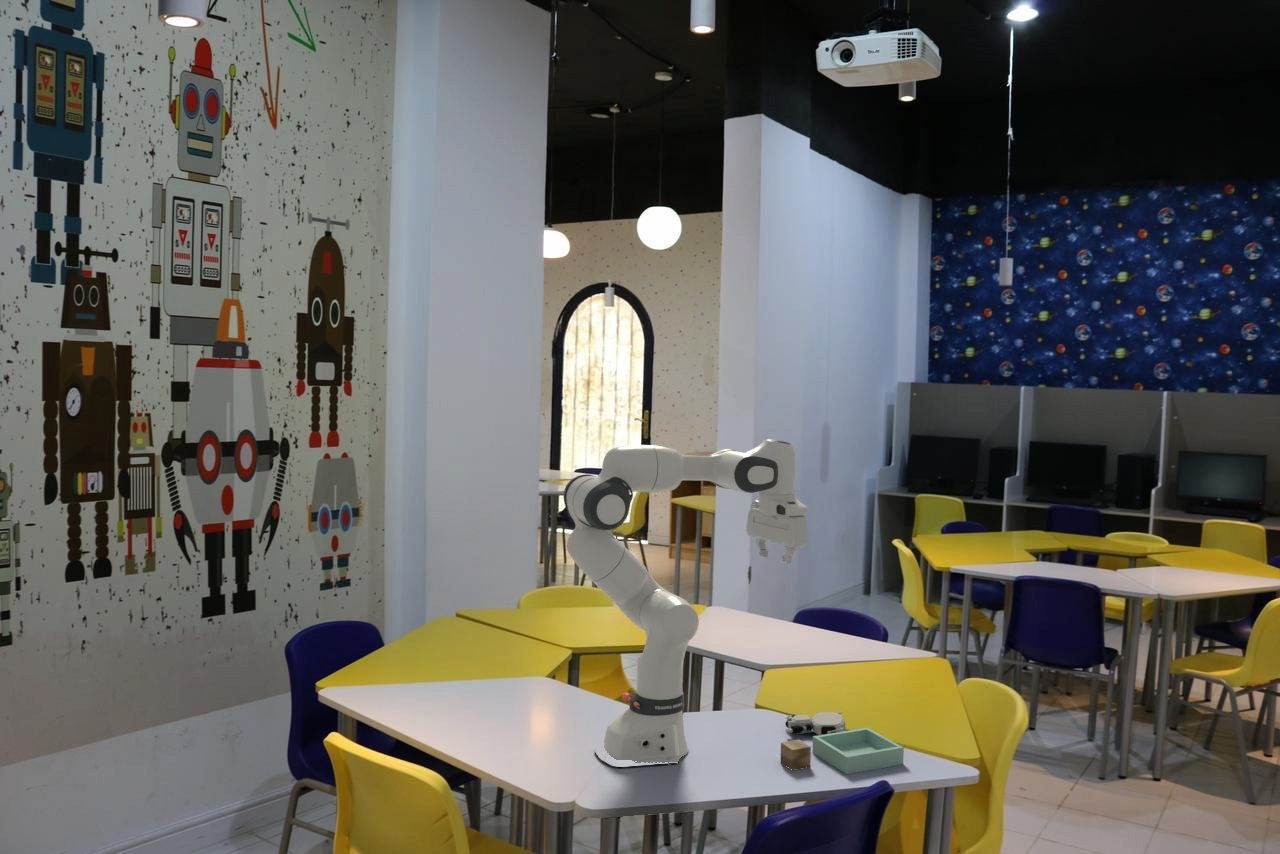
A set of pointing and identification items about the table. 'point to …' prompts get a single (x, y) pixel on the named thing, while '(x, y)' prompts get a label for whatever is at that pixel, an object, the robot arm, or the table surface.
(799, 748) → the block
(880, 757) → the tray
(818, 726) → the robot toy
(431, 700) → the table surface
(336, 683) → the table surface
